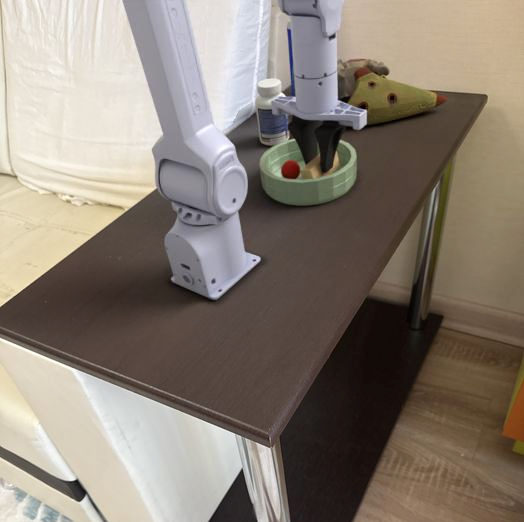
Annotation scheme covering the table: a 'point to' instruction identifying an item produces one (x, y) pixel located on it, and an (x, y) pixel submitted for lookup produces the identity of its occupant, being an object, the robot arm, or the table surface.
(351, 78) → the figurine
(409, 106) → the ocarina
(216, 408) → the table surface
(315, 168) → the block
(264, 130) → the pill bottle
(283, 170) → the ball
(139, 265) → the table surface
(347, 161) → the bowl
